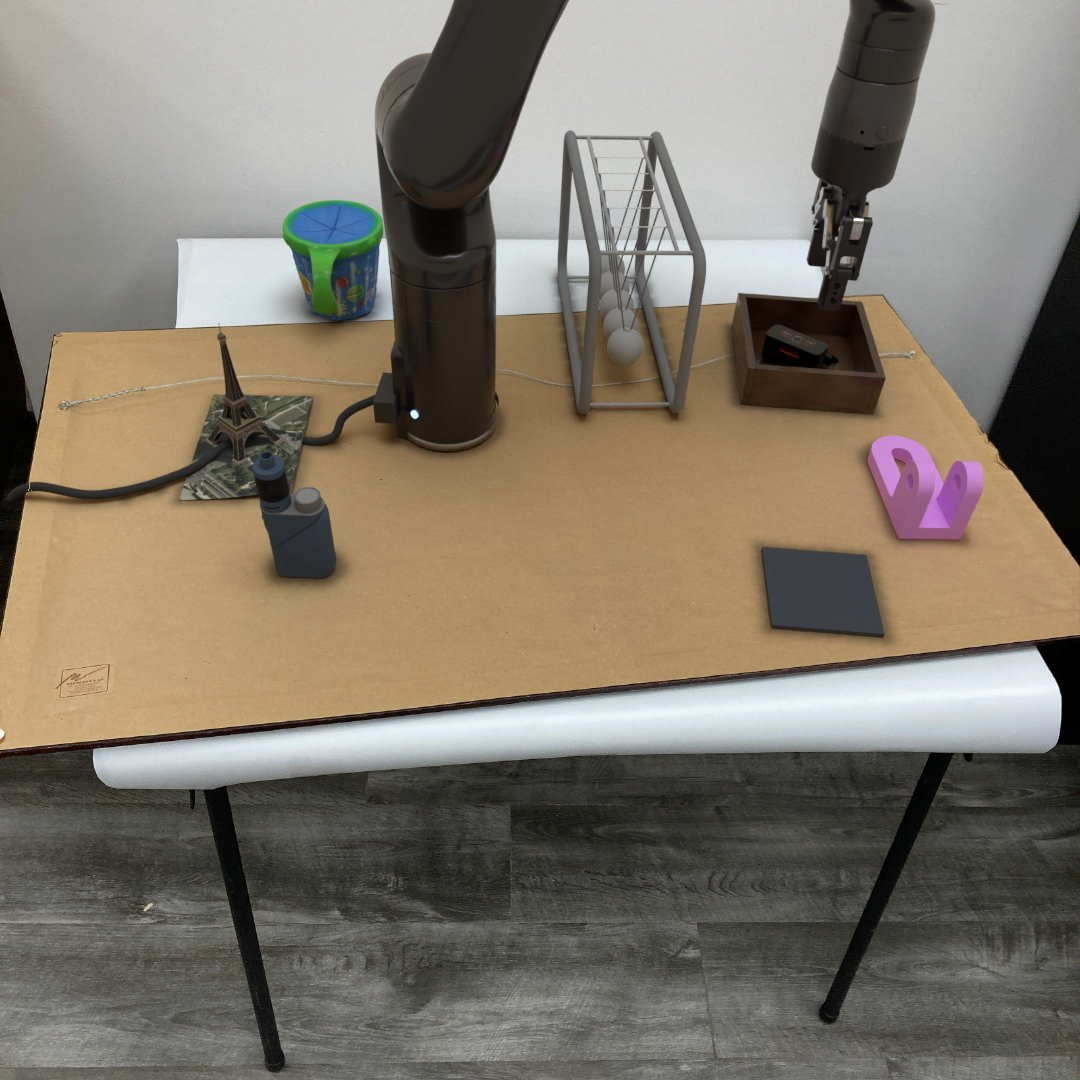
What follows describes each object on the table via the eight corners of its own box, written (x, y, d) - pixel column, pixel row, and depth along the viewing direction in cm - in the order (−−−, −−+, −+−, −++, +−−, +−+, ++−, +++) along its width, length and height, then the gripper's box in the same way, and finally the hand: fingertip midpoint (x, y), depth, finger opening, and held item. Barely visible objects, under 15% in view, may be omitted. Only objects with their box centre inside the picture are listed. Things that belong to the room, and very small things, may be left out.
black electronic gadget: (818, 385, 102) (825, 359, 100) (758, 359, 105) (764, 333, 103) (837, 366, 105) (845, 340, 103) (778, 341, 108) (784, 316, 106)
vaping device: (277, 555, 82) (253, 443, 74) (339, 558, 82) (322, 447, 74) (270, 577, 81) (245, 465, 72) (334, 580, 81) (316, 469, 72)
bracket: (960, 539, 87) (988, 480, 82) (898, 538, 87) (922, 479, 82) (916, 447, 96) (939, 389, 91) (861, 446, 96) (881, 388, 91)
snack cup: (369, 348, 105) (360, 262, 98) (274, 337, 106) (258, 250, 99) (404, 276, 116) (399, 194, 109) (318, 267, 117) (307, 184, 110)
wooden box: (740, 404, 100) (748, 367, 97) (731, 327, 111) (738, 292, 108) (873, 414, 100) (886, 377, 97) (851, 336, 110) (862, 301, 107)
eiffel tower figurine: (294, 499, 87) (271, 375, 78) (179, 500, 87) (141, 375, 78) (313, 399, 98) (295, 279, 89) (211, 399, 98) (181, 278, 88)
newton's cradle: (556, 271, 118) (564, 123, 106) (641, 271, 119) (659, 124, 107) (578, 423, 97) (591, 260, 85) (682, 422, 98) (710, 260, 85)
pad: (771, 628, 79) (772, 624, 78) (761, 549, 85) (762, 546, 85) (883, 637, 78) (884, 633, 78) (865, 557, 85) (866, 554, 85)
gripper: (812, 91, 92) (777, 249, 104) (832, 153, 82) (792, 321, 93) (892, 95, 92) (849, 254, 103) (923, 159, 82) (871, 327, 93)
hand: (822, 286), depth 98 cm, fingers open, 8 cm apart
